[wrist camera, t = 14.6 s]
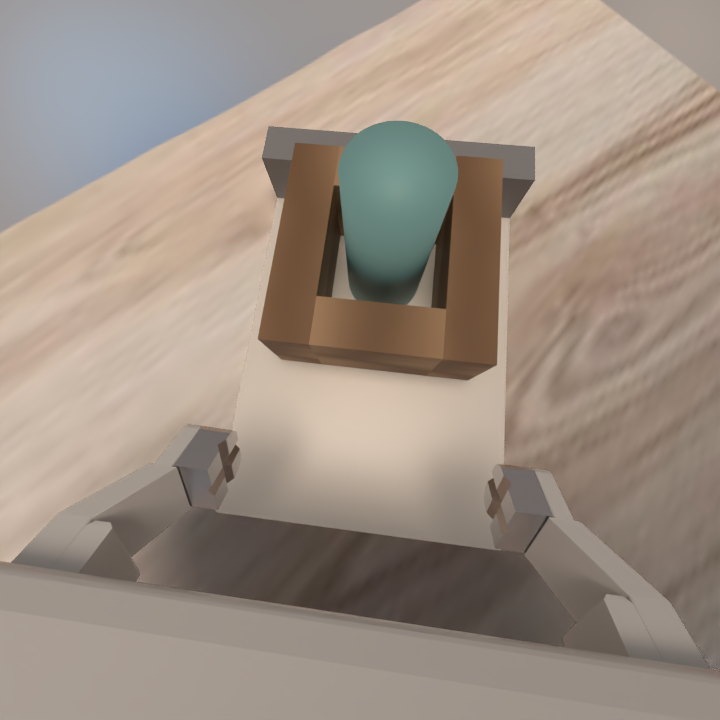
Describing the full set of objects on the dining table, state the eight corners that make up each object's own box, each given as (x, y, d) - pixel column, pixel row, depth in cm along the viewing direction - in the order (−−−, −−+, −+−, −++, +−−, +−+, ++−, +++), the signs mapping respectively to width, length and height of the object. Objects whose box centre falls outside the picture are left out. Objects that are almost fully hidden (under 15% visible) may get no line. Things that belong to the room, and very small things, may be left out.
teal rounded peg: (420, 250, 19) (460, 125, 11) (416, 315, 18) (455, 228, 11) (352, 244, 19) (345, 116, 12) (344, 308, 18) (331, 217, 11)
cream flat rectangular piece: (503, 200, 21) (535, 147, 17) (493, 544, 17) (532, 578, 13) (286, 181, 22) (268, 126, 18) (223, 507, 17) (182, 529, 13)
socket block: (476, 214, 20) (503, 159, 16) (467, 380, 17) (497, 365, 13) (309, 199, 20) (295, 142, 16) (281, 359, 18) (257, 338, 14)
